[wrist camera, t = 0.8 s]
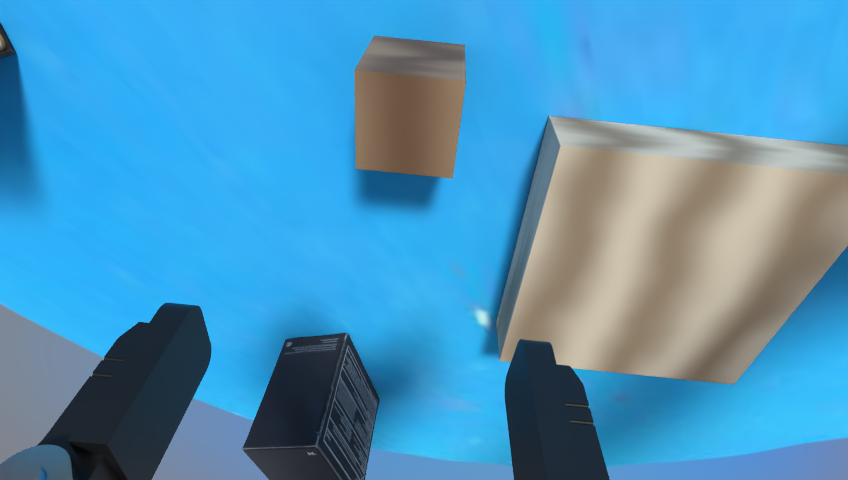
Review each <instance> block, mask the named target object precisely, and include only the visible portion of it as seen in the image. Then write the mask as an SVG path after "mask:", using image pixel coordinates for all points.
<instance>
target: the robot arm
mask: <svg viewBox="0 0 848 480" xmlns="http://www.w3.org/2000/svg"><path fill="white" fill-rule="evenodd" d="M210 358H211V343H210V340H209V336H208V332H207V328H206V325H205V321H204V317H203V314H202V310H201V308H200V307H199V306H195V305H185V304H175V303H165V304H163V305H162V306H161V307H160V308H159V310H158V311H157V313H156V314H155V315H154V317H153V318H152V320H151V321H150V323H143V322H139V323H137V324H136V325H135V326H133V327H132V328H131V329H129V330H128V331H127V332H125V333H124V334H123V335H121V336H120V337H119V338H118V339H117V340H116V342H115V343H114V344H113V346H112V347H111V348H110V350H109V351H108V353H107V354H106V355H105V358H104V360H103V361H101V362H100V363H99V365H98V366H97V368H96V369H95V370H94V371H93V375H92V377H89V378H88V380H87V381H86V382H85V384H84V385H83V386H82V388H81V389H80V390H79V392H78V393H77V395H76V396H75V397H74V399H73V400H72V401H71V403H70V404H69V406H68V407H67V408H66V409H65V411H64V412H63V414H62V415H61V416H60V417H59V419H58V420H57V422H56V423H55V424H54V426H53V427H52V428H51V430H50V431H49V433H48V434H47V435H46V436H45V437H44V439H43V440H42V441H41V442H40V443H39V444H38V445H37V446H34V447H31V448H28V449H25V450H23V451H21V452H18V453H16V454H15V455H13V456H11V457H9V458H8V459H7V460H5V461H4V462H2V463H1V464H0V480H151V479H152V478H153V476H154V474H155V471H156V470H157V468H158V465H159V464H160V462H161V460H162V458H163V456H164V454H165V452H166V450H167V448H168V446H169V444H170V442H171V440H172V438H173V436H174V434H175V432H176V430H177V428H178V426H179V424H180V422H181V420H182V418H183V416H184V414H185V411H186V410H187V408H188V406H189V404H190V402H191V400H192V398H193V396H194V394H195V392H196V390H197V388H198V386H199V384H200V382H201V380H202V378H203V376H204V374H205V372H206V370H207V368H208V365H209V362H210ZM505 404H506V412H507V421H508V430H509V439H510V447H511V456H512V465H513V473H514V480H609V476H608V473H607V469H606V465H605V462H604V458H603V454H602V451H601V447H600V444H599V440H598V436H597V433H596V429H595V426H593V418H592V415H591V411H590V409H589V408H588V406H589V404H588V400H587V397H586V393H585V389H584V386H583V383H582V382H581V381H580V379H579V378H578V376H577V375H576V374H575V372H574V371H573V369H572V368H571V366H568V365H558V364H556V360H555V356H554V351H553V347H552V345H551V343H550V342H544V341H534V340H524V339H520V340H519V341H518V343H517V346H516V349H515V352H514V355H513V358H512V361H511V364H510V367H509V370H508V373H507V376H506V382H505Z"/></svg>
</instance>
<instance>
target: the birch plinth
mask: <svg viewBox="0 0 848 480" xmlns="http://www.w3.org/2000/svg"><path fill="white" fill-rule="evenodd" d="M847 246H848V146H844V145H834V144H824V143H814V142H804V141H794V140H784V139H774V138H764V137H755V136H745V135H735V134H725V133H715V132H705V131H695V130H685V129H675V128H665V127H655V126H645V125H635V124H625V123H615V122H605V121H595V120H585V119H575V118H565V117H555V116H549V118H548V122H547V126H546V130H545V133H544V137H543V141H542V145H541V149H540V153H539V157H538V161H537V165H536V169H535V172H534V176H533V180H532V184H531V188H530V192H529V196H528V200H527V204H526V208H525V211H524V215H523V219H522V223H521V227H520V231H519V235H518V239H517V243H516V247H515V250H514V254H513V258H512V262H511V266H510V270H509V274H508V278H507V282H506V286H505V290H504V293H503V297H502V301H501V305H500V309H499V313H498V317H497V321H496V325H497V337H498V349H499V361H506V362H511V361H512V358H513V355H514V352H515V349H516V346H517V343H518V341H519V340H520V339H524V340H534V341H544V342H550V343H551V345H552V347H553V351H554V356H555V360H556V364H558V365H568V366H571V368H576V369H586V370H596V371H605V372H615V373H625V374H635V375H645V376H655V377H665V378H675V379H685V380H695V381H704V382H714V383H724V384H735V383H736V381H737V380H738V379H739V378H740V377H741V375H742V374H743V373H744V372H745V370H746V369H747V368H748V367H749V366H750V364H751V363H752V362H753V361H754V359H755V358H756V357H757V356H758V355H759V353H760V352H761V351H762V350H763V348H764V347H765V346H766V345H767V344H768V342H769V341H770V340H771V339H772V338H773V336H774V335H775V334H776V333H777V331H778V330H779V329H780V328H781V327H782V325H783V324H784V323H785V322H786V320H787V319H788V318H789V317H790V316H791V314H792V313H793V312H794V311H795V309H796V308H797V307H798V306H799V305H800V303H801V302H802V301H803V300H804V299H805V297H806V296H807V295H808V294H809V292H810V291H811V290H812V289H813V288H814V286H815V285H816V284H817V283H818V281H819V280H820V279H821V278H822V277H823V275H824V274H825V273H826V272H827V270H828V269H829V268H830V267H831V266H832V264H833V263H834V262H835V261H836V260H837V258H838V257H839V256H840V255H841V253H842V252H843V251H844V250H845V249H846V247H847Z"/></svg>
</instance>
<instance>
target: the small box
mask: <svg viewBox="0 0 848 480" xmlns="http://www.w3.org/2000/svg"><path fill="white" fill-rule="evenodd" d="M378 404H379V398H378V396H377V394H376V391H375V389H374V387H373V385H372V383H371V381H370V379H369V377H368V374H367V372H366V370H365V368H364V366H363V364H362V362H361V360H360V358H359V356H358V353H357V351H356V349H355V347H354V345H353V343H352V341H351V339H350V337H349V335H348V334H346V333H343V334H334V335H325V336H314V337H301V338H293V339H286V340H285V343H284V345H283V348H282V351H281V353H280V356H279V358H278V361H277V363H276V366H275V369H274V371H273V374H272V376H271V379H270V381H269V384H268V386H267V389H266V392H265V394H264V397H263V399H262V402H261V404H260V407H259V409H258V412H257V414H256V417H255V419H254V422H253V424H252V427H251V429H250V432H249V435H248V437H247V440H246V442H245V444H244V446H243V451H244V452H245V453H246V454H247V455H248V456H249V457H250V459H251V460H252V461H253V462H254V463H255V464H256V465H257V466H258V468H259V469H260V470H261V471H262V472H263V473H264V474H265V475H266V476H267V478H268V479H269V480H365V475H366V469H367V463H368V458H369V452H370V446H371V441H372V436H373V429H374V424H375V419H376V414H377V409H378Z"/></svg>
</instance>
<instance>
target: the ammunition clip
mask: <svg viewBox="0 0 848 480" xmlns="http://www.w3.org/2000/svg"><path fill="white" fill-rule="evenodd" d="M12 54H15V52H14V50H13V48H12V46H11V44H10V42H9V40H8V38H7V36H6V35H5V33H4V31H3V29H2V27H1V25H0V59H1V58H4V57H7V56H10V55H12Z"/></svg>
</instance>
